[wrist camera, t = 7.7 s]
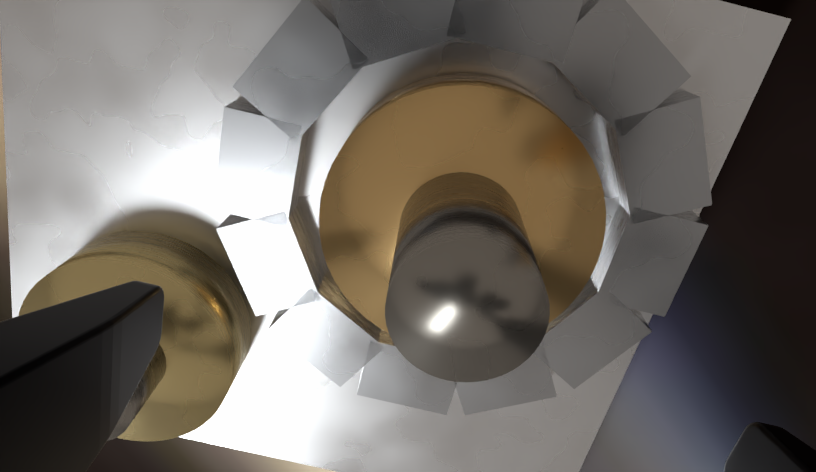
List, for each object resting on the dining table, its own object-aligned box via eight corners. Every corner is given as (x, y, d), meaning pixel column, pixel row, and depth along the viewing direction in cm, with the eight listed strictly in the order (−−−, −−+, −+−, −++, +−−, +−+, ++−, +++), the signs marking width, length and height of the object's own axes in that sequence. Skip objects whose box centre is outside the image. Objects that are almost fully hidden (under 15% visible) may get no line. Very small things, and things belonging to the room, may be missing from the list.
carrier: (765, 16, 15) (916, 31, 10) (550, 492, 22) (581, 635, 17) (26, -177, 14) (-184, -259, 9) (38, 379, 21) (-81, 495, 16)
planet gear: (626, 110, 15) (733, 182, 10) (539, 335, 18) (584, 492, 12) (359, 43, 15) (310, 77, 9) (313, 283, 17) (254, 420, 12)
